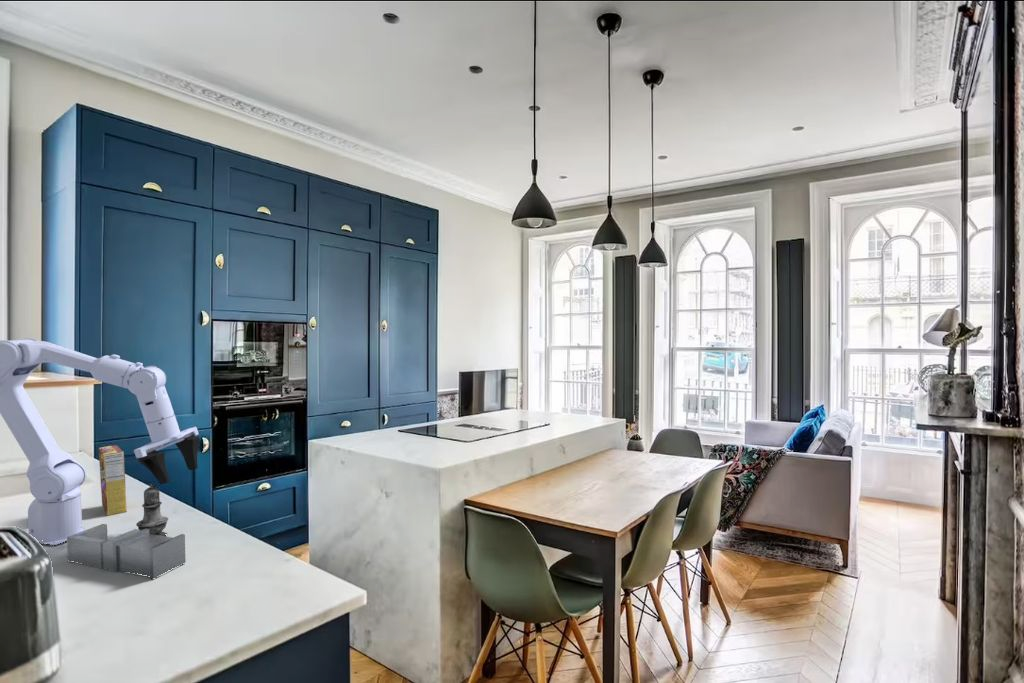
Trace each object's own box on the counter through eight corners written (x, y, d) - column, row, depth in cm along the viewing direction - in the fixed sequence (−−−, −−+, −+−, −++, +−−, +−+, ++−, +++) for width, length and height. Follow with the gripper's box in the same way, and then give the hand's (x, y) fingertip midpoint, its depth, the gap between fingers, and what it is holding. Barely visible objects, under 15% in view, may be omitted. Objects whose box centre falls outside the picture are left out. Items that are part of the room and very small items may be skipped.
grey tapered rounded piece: (153, 544, 116) (151, 488, 116) (129, 541, 118) (128, 486, 117) (175, 533, 122) (173, 480, 122) (152, 531, 123) (151, 478, 123)
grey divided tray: (65, 562, 108) (64, 533, 107) (103, 547, 115) (102, 520, 114) (153, 579, 101) (152, 548, 101) (188, 562, 108) (187, 533, 108)
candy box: (100, 507, 139) (98, 447, 138) (120, 503, 142) (118, 444, 141) (105, 516, 132) (103, 453, 131) (127, 512, 135) (125, 450, 134)
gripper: (143, 427, 115) (164, 487, 117) (200, 406, 129) (218, 461, 130) (119, 432, 117) (140, 491, 119) (178, 411, 131) (195, 465, 132)
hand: (179, 475), depth 125 cm, fingers open, 7 cm apart
